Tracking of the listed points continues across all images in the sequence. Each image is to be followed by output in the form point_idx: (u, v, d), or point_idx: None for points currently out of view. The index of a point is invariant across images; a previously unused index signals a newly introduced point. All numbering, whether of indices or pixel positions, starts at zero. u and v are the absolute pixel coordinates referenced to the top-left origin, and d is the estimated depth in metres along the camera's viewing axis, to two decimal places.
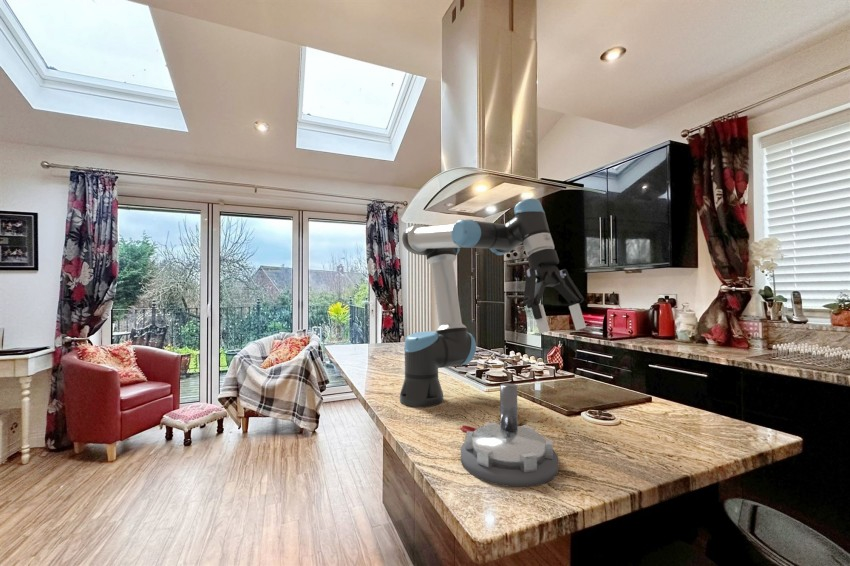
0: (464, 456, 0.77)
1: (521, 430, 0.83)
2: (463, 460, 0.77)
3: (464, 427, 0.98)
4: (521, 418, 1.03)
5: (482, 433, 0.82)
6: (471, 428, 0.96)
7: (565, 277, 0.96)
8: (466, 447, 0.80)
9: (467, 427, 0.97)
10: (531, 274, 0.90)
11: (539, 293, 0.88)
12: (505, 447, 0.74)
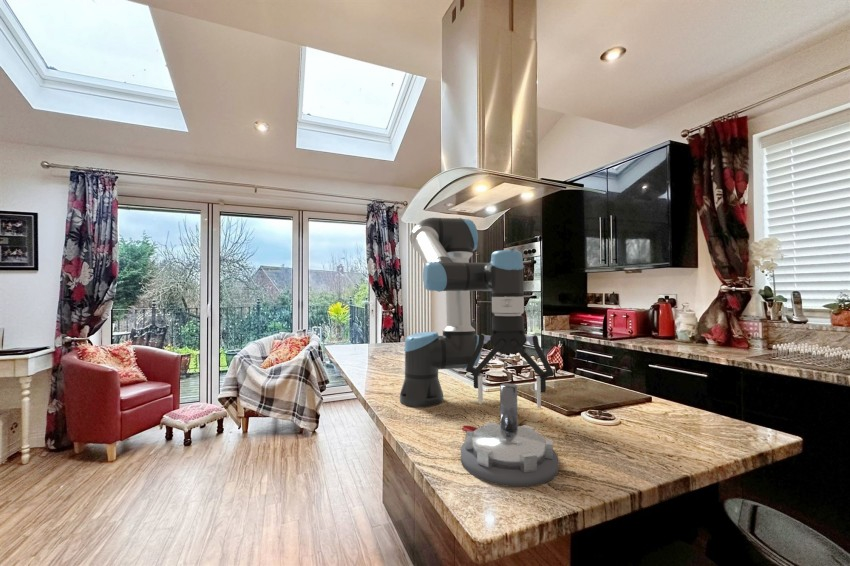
0: (464, 456, 0.77)
1: (521, 430, 0.83)
2: (463, 460, 0.77)
3: (465, 427, 0.98)
4: (521, 418, 1.03)
5: (482, 433, 0.82)
6: (473, 428, 0.96)
7: None
8: (466, 447, 0.80)
9: (468, 427, 0.97)
10: (478, 342, 0.87)
11: (481, 363, 0.86)
12: (505, 447, 0.74)
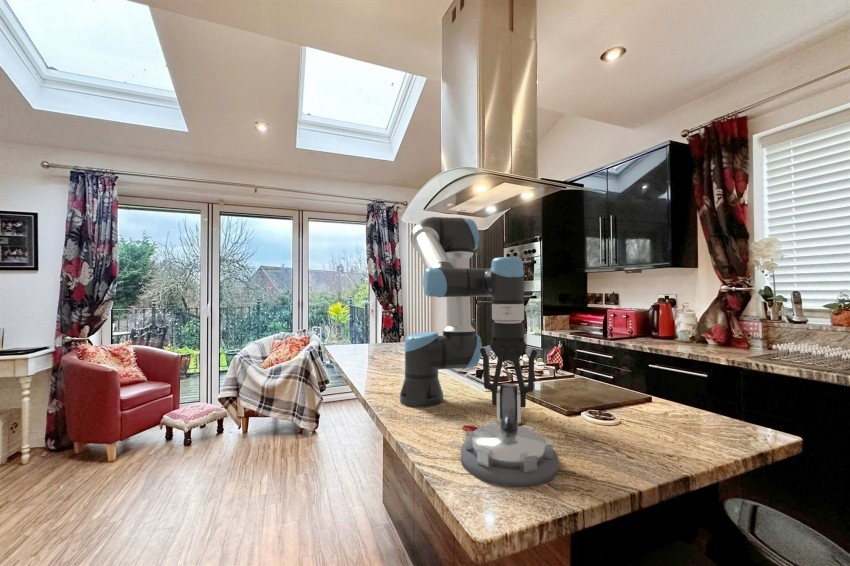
0: (464, 456, 0.77)
1: (521, 430, 0.83)
2: (463, 460, 0.77)
3: (466, 427, 0.98)
4: (521, 418, 1.03)
5: (482, 433, 0.82)
6: (473, 427, 0.96)
7: (529, 357, 0.84)
8: (466, 447, 0.80)
9: (469, 426, 0.97)
10: (482, 356, 0.86)
11: (494, 378, 0.85)
12: (505, 447, 0.74)
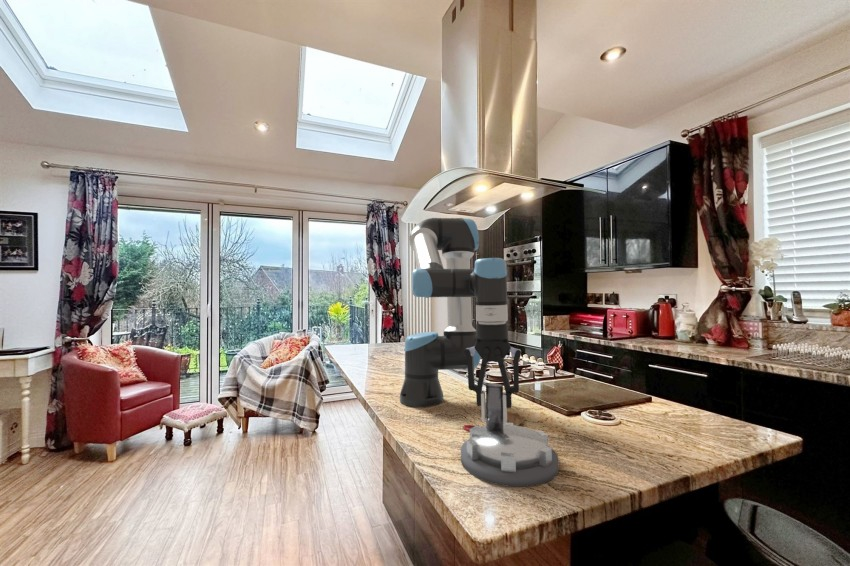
0: (464, 456, 0.77)
1: (507, 427, 0.85)
2: (463, 460, 0.77)
3: (467, 426, 0.98)
4: (521, 418, 1.03)
5: (483, 439, 0.78)
6: None
7: None
8: (473, 458, 0.75)
9: (470, 426, 0.97)
10: (466, 357, 0.86)
11: (479, 379, 0.85)
12: (520, 447, 0.74)
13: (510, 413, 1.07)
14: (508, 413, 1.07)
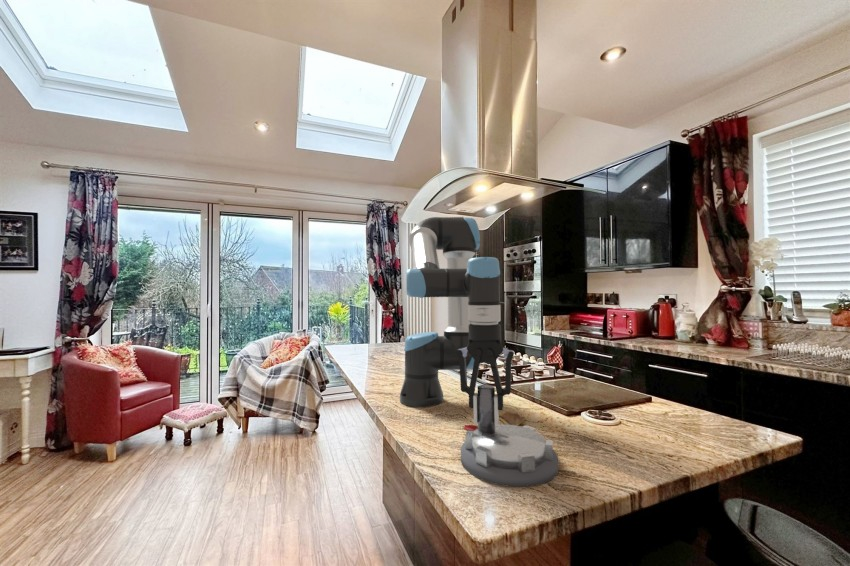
0: (464, 456, 0.77)
1: (497, 428, 0.85)
2: (463, 460, 0.77)
3: (467, 426, 0.98)
4: (521, 418, 1.03)
5: (489, 443, 0.76)
6: (475, 427, 0.97)
7: (506, 359, 0.82)
8: (487, 464, 0.72)
9: (471, 426, 0.97)
10: (459, 358, 0.85)
11: (471, 381, 0.84)
12: (529, 445, 0.75)
13: (510, 413, 1.07)
14: (508, 413, 1.07)
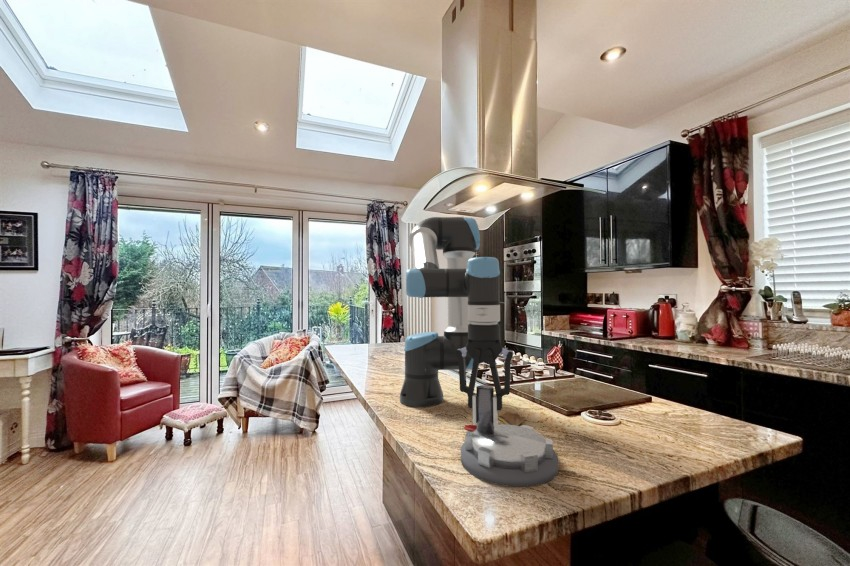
0: (464, 456, 0.77)
1: (495, 428, 0.85)
2: (463, 460, 0.77)
3: (468, 426, 0.98)
4: (521, 418, 1.03)
5: (490, 444, 0.76)
6: (476, 427, 0.97)
7: (505, 360, 0.82)
8: (490, 465, 0.72)
9: (472, 426, 0.97)
10: (458, 358, 0.85)
11: (470, 381, 0.83)
12: (530, 445, 0.76)
13: (510, 413, 1.07)
14: (508, 413, 1.07)
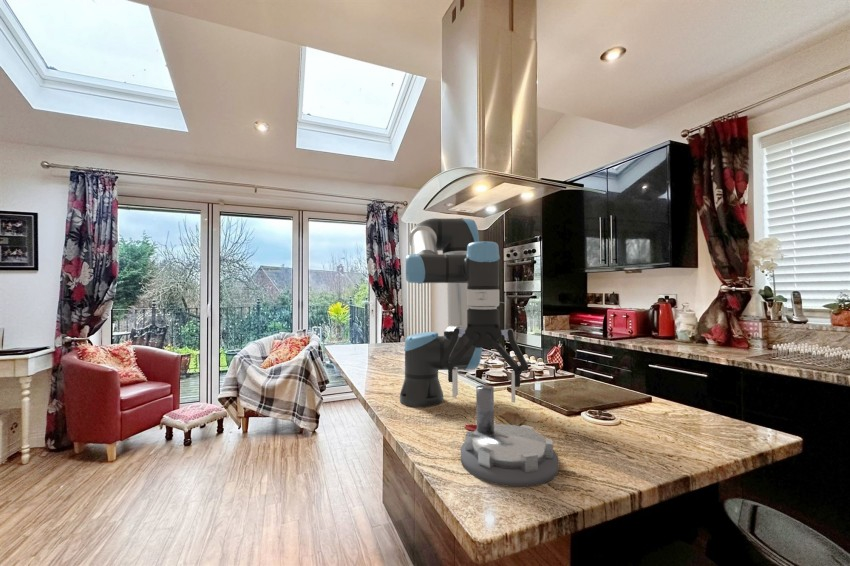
0: (464, 456, 0.77)
1: (495, 428, 0.85)
2: (463, 460, 0.77)
3: (469, 426, 0.98)
4: (521, 418, 1.03)
5: (490, 444, 0.76)
6: None
7: None
8: (490, 465, 0.72)
9: (472, 426, 0.98)
10: None
11: (456, 357, 0.85)
12: (530, 445, 0.76)
13: (510, 413, 1.07)
14: (508, 413, 1.07)
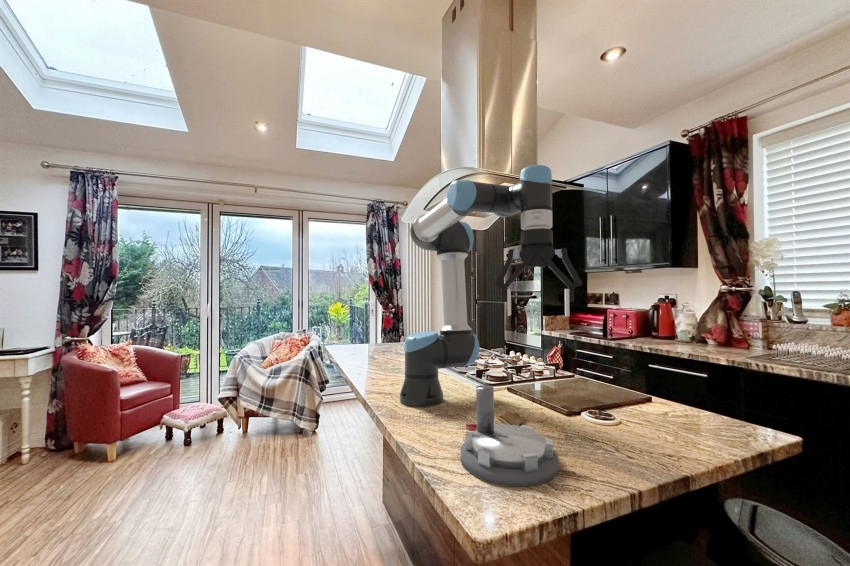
0: (464, 456, 0.77)
1: (495, 428, 0.85)
2: (463, 460, 0.77)
3: (470, 426, 0.99)
4: (522, 418, 1.03)
5: (490, 444, 0.76)
6: None
7: (562, 257, 0.86)
8: (490, 465, 0.72)
9: (474, 425, 0.98)
10: None
11: (510, 277, 0.89)
12: (530, 445, 0.76)
13: (510, 413, 1.07)
14: (508, 413, 1.07)
